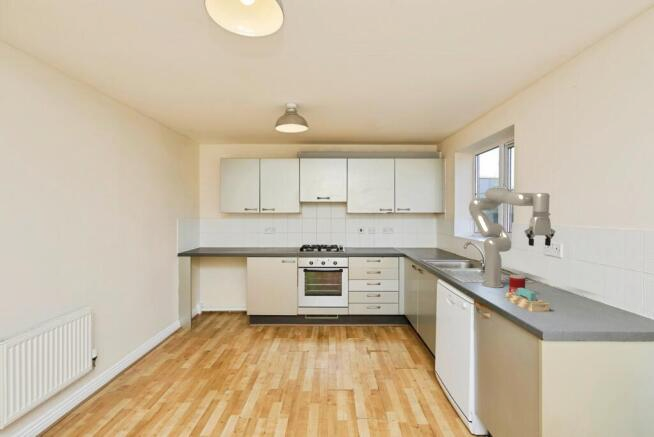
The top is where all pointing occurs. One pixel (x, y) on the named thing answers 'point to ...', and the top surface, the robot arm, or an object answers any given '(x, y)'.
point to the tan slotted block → (528, 303)
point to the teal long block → (526, 294)
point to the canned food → (516, 283)
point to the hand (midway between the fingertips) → (539, 245)
